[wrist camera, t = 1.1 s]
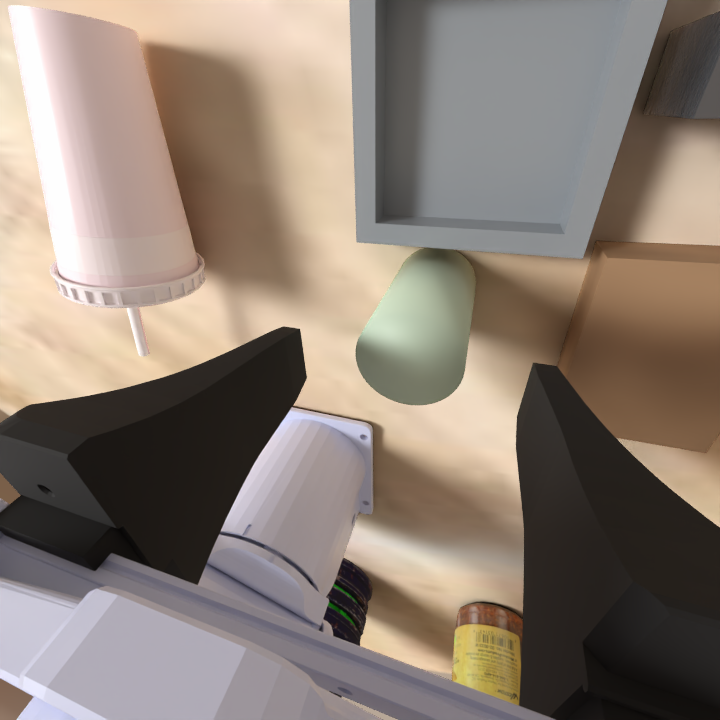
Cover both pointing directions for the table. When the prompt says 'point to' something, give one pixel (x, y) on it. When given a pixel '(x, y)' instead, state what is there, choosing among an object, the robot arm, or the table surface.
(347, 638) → the storage jar
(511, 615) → the sauce bottle
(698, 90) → the post
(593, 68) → the slate tray
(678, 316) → the tan rectangular block
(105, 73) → the smoothie
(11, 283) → the table surface
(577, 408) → the robot arm
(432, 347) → the sage dowel
